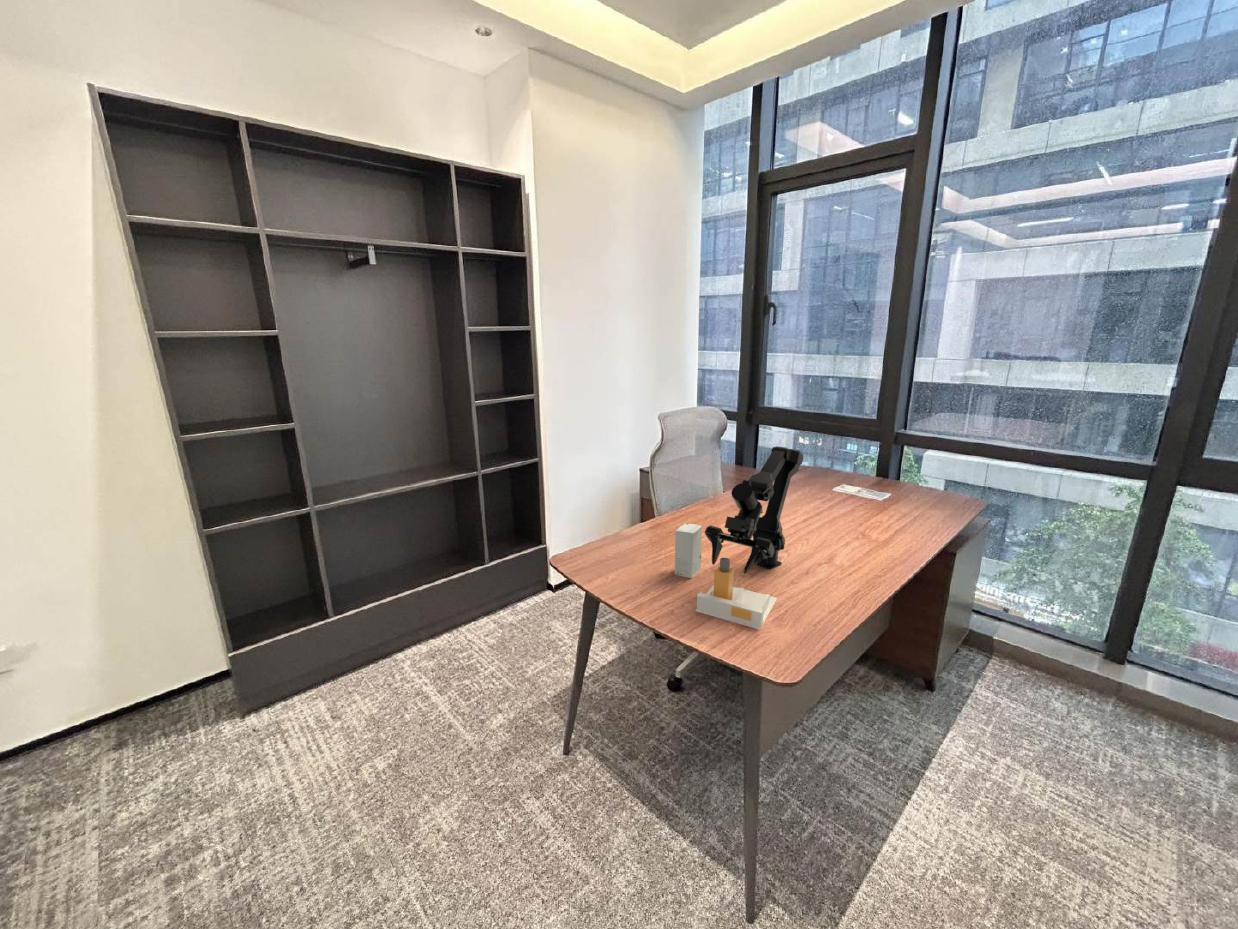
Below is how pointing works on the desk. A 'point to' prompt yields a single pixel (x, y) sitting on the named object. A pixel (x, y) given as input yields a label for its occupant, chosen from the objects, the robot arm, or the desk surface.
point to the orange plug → (724, 580)
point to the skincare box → (688, 550)
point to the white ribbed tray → (737, 606)
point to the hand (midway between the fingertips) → (728, 568)
